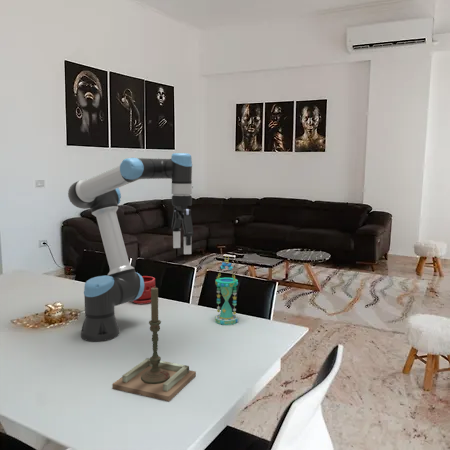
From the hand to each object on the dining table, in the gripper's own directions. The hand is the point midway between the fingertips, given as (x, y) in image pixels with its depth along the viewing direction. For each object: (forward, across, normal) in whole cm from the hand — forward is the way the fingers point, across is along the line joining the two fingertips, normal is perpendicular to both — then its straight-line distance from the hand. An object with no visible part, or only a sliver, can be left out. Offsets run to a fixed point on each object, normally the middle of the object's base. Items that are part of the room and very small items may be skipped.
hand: (182, 250), depth 174 cm
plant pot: (+37, +61, +2) cm, 71 cm away
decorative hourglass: (+37, +18, -26) cm, 49 cm away
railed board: (+37, -28, +18) cm, 49 cm away
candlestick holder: (+35, -28, +18) cm, 48 cm away
